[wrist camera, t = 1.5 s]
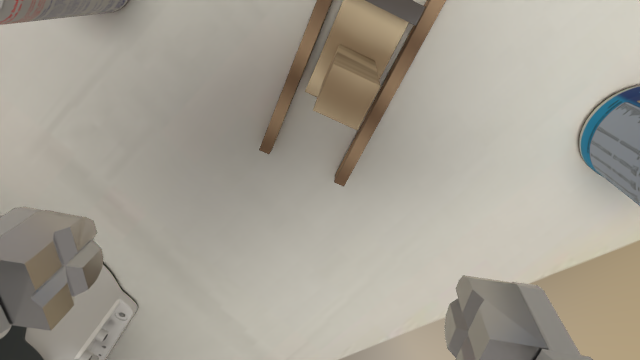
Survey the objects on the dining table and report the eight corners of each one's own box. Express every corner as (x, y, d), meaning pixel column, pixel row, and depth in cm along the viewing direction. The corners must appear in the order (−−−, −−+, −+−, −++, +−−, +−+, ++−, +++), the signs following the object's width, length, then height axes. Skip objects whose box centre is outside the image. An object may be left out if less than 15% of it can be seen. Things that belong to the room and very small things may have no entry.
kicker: (359, 109, 32) (361, 156, 23) (307, 85, 31) (288, 124, 23) (414, 3, 28) (440, 12, 19) (355, -27, 27) (354, -32, 18)
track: (344, 179, 36) (343, 186, 34) (262, 143, 35) (259, 150, 33) (516, -138, 24) (525, -145, 22) (399, -206, 23) (401, -218, 21)
